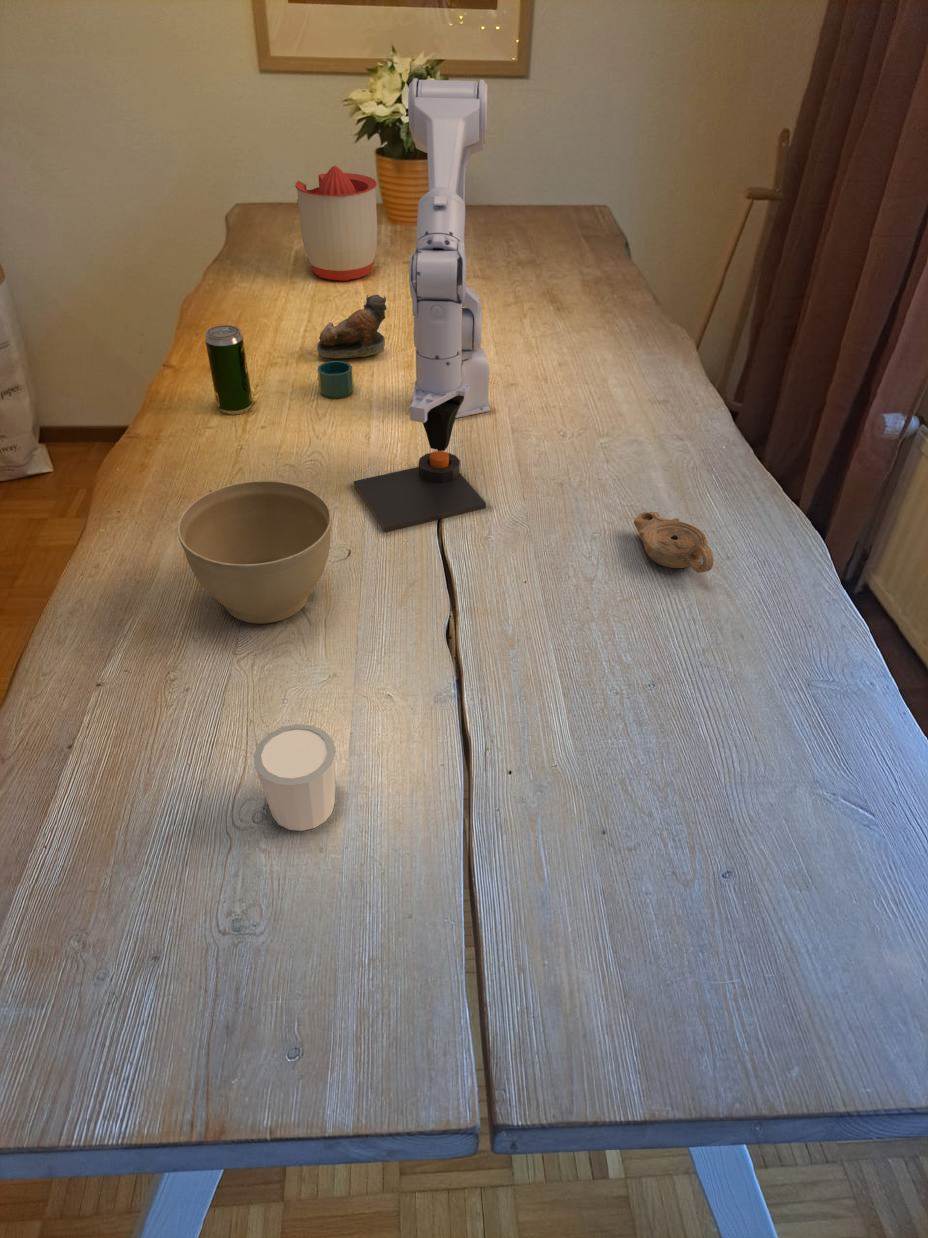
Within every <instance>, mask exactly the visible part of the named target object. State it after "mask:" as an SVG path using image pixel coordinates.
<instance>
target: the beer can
mask: <svg viewBox="0 0 928 1238" xmlns="http://www.w3.org/2000/svg"><path fill="white" fill-rule="evenodd" d="M205 336H206V337H205V340H204V341H205V346H206V351H207V357H208V363H209V370H210V374H211V381H212V386H213V391H214V392H213V393H214V397H215V403H216V406H217V409H218V410H219V411H220V412H221V413H223V414H224V415H231V416H233V415H241V414H244V413H247V412H248V411H250V410H251V409H252V405H253V396H252V388H251V382H250V375H249V374H250V373H249V368H248V363H247V354H246V349H245V342H244V336H243V335H242V333H241V328H239V327H237V326H235V325H230V324H221V325H215V326H212V327H210V328H208V329H207V330H206V331H205Z"/></svg>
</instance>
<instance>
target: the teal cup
mask: <svg viewBox="0 0 928 1238" xmlns="http://www.w3.org/2000/svg"><path fill="white" fill-rule="evenodd" d="M316 369H317V370H316V371H317V379H318V390H319V392H320V393H321V394H322V395H323V396H325V397H327V398H330V399H341V398H345V397H348V396H349V395H351V394H352V392H353V391H354V372H353V366H352V365H351V363H350V362H346V361H343V360H329V361H326V362H323V363H321V364H319V365H318V366H317V368H316Z"/></svg>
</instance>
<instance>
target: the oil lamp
mask: <svg viewBox="0 0 928 1238" xmlns="http://www.w3.org/2000/svg"><path fill="white" fill-rule="evenodd" d="M633 525H634V526H635V528H636V530H637V532H638V534H639V537H640V539H641V541H642V543H643V547H644V548H643V549H644V550H645V552H646V554H647V556H648V557H649V558H650V559H651V560H652V561H653V562H655V563H656V564H658V565H660V566H663V567H666V568H670V569H684V568H688V567H690V568H691V569H692V570H693V571H694V572H696V573H705V572H709V571H711V570H712V569H713V566H714V553H713V550H712V548H711V547H710V546H709V541H708V539H707V537H706V535H705V534H704V532H702V530H700V529H699V528H697V527H696V526H693V525H691V524H689V523H686V522H683V521H680V518H677V517H674V518H672V519H670V518H669V519H668V518H663V517H661V516H660V513H659V512H658V511H644V512H640V513H639V514H638V515H637V516H636V518H635V519H634V520H633ZM701 558H702V563H701V562H700V561H701Z"/></svg>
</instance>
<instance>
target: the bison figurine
mask: <svg viewBox="0 0 928 1238" xmlns="http://www.w3.org/2000/svg"><path fill="white" fill-rule="evenodd" d="M365 299H366V302H365V304H364V305H363V308H360V309H357V310H356V311H354V312H353V313H351V314H350V315H349V316H348V317H347V318H346V319H343V320H341V321H340V322H339V323H338V324H337V325H335V326H334V323H333V322H332V321H330V322H328V323H327V325H325V327H324V328H323V330H322V331H321V332H320V334H319V338H318V339H319V341H318V342H317V344H316V350H317V352H318V354H319V356H321V357H324V358H330V359H355V358H365V357H369V356H374V355H379V354H382V353H383V352H384V349H385V345H386V339H385V336H384V335H383V334H381V333H380V332H379V331H378V330H379V329H380V326H381V323H383V321H384V320H385V319H386V310H388V309H387V305H386V302H387V296H386V294H384V295H383V297H382V296H381V295H379V294H372V295H370V296H369V294H367V295H366V297H365Z"/></svg>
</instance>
